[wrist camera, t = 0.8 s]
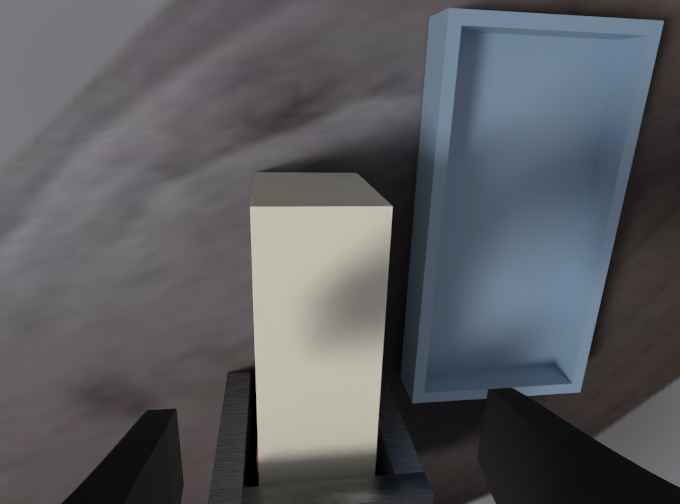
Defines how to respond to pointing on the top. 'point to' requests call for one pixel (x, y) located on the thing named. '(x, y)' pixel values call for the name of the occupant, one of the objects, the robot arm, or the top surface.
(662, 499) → the robot arm
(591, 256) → the tray
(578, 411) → the top surface
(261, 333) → the block
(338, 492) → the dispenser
